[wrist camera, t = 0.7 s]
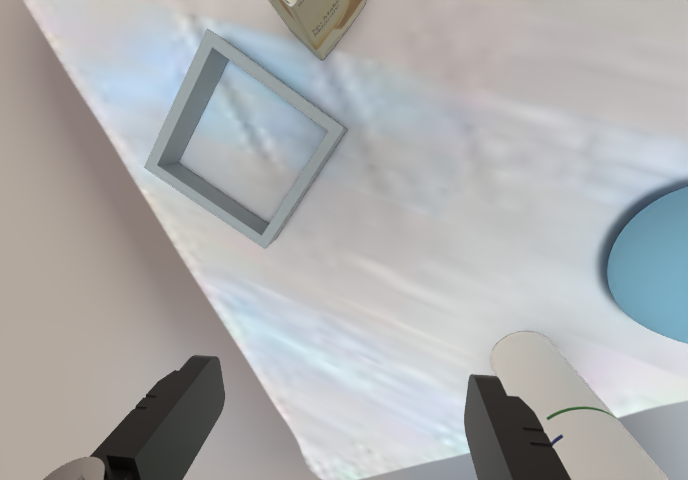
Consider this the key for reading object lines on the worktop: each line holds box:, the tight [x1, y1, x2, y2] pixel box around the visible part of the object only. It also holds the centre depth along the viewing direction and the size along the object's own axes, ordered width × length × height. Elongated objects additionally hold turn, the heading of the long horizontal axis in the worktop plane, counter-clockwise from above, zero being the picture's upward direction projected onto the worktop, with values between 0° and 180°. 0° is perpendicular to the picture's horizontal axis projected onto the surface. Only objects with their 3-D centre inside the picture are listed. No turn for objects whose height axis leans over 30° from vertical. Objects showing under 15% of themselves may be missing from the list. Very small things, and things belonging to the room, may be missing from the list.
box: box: [144, 29, 347, 249], centre depth 32 cm, size 14×14×4 cm
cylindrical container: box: [491, 331, 669, 480], centre depth 25 cm, size 7×7×25 cm
